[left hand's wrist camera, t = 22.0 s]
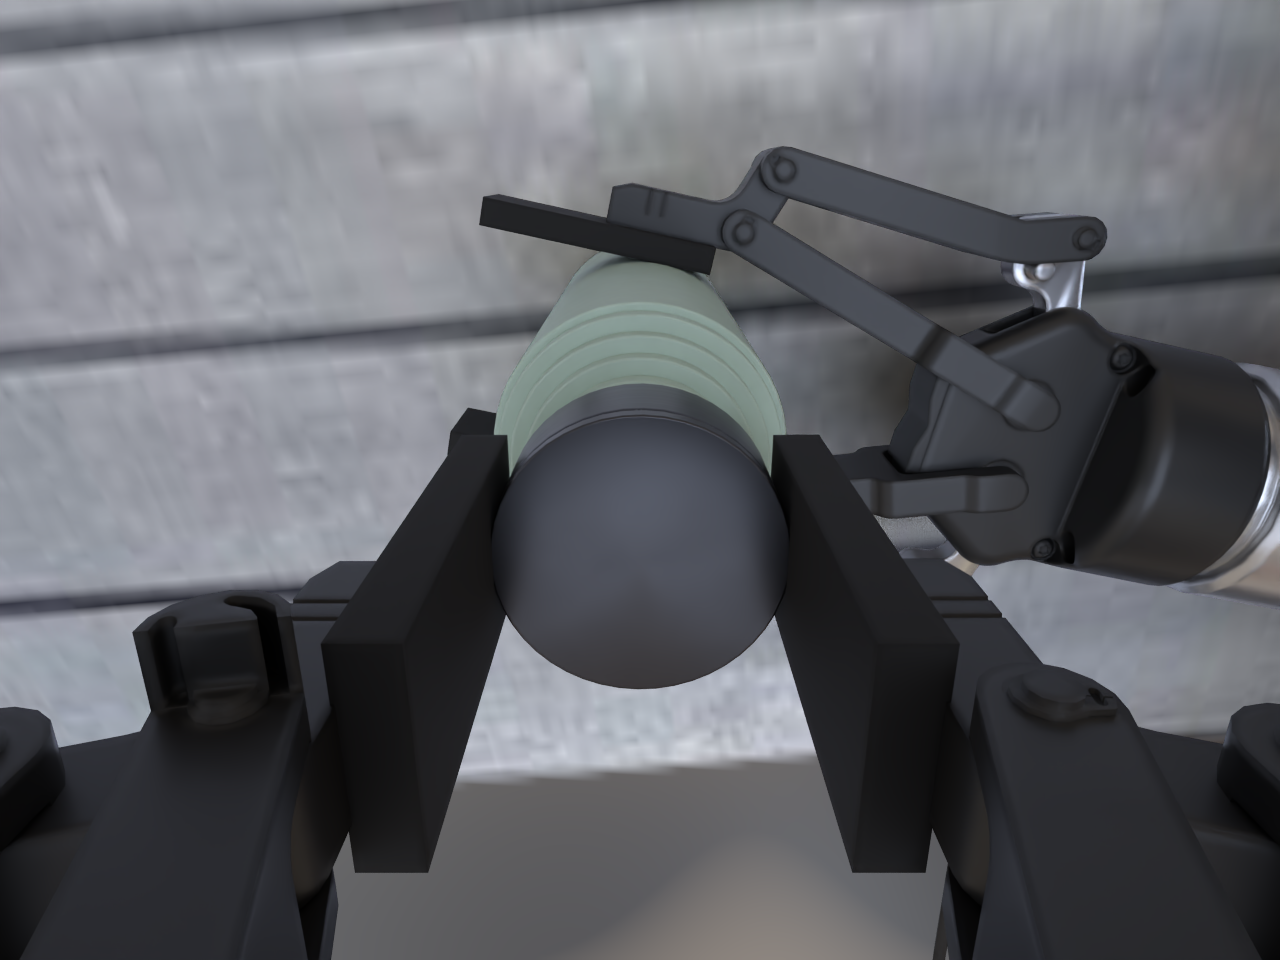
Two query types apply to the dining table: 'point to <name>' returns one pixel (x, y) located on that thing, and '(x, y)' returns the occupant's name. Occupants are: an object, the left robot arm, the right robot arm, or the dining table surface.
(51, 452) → the dining table surface
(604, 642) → the cap
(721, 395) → the bottle
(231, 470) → the dining table surface
